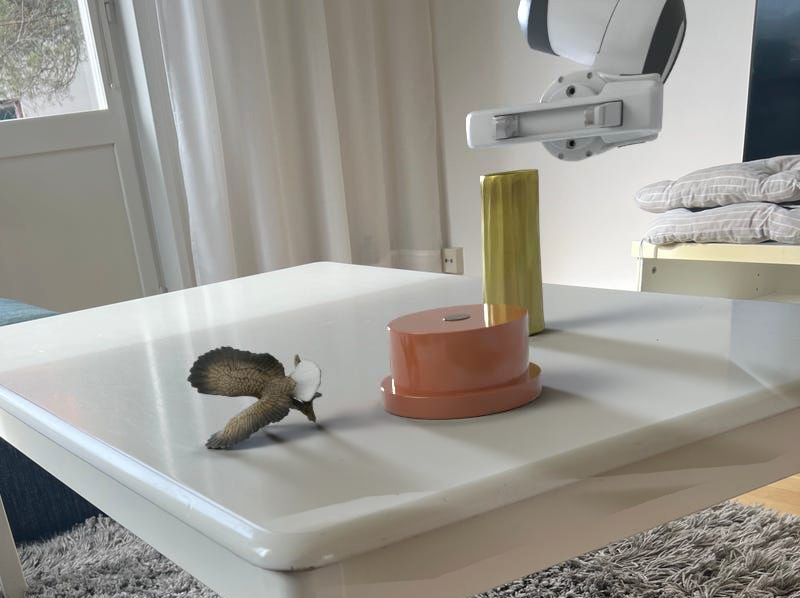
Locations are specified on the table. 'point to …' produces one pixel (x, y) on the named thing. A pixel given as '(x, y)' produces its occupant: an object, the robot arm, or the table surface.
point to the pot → (460, 362)
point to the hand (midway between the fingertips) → (543, 123)
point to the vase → (512, 243)
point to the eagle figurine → (255, 389)
